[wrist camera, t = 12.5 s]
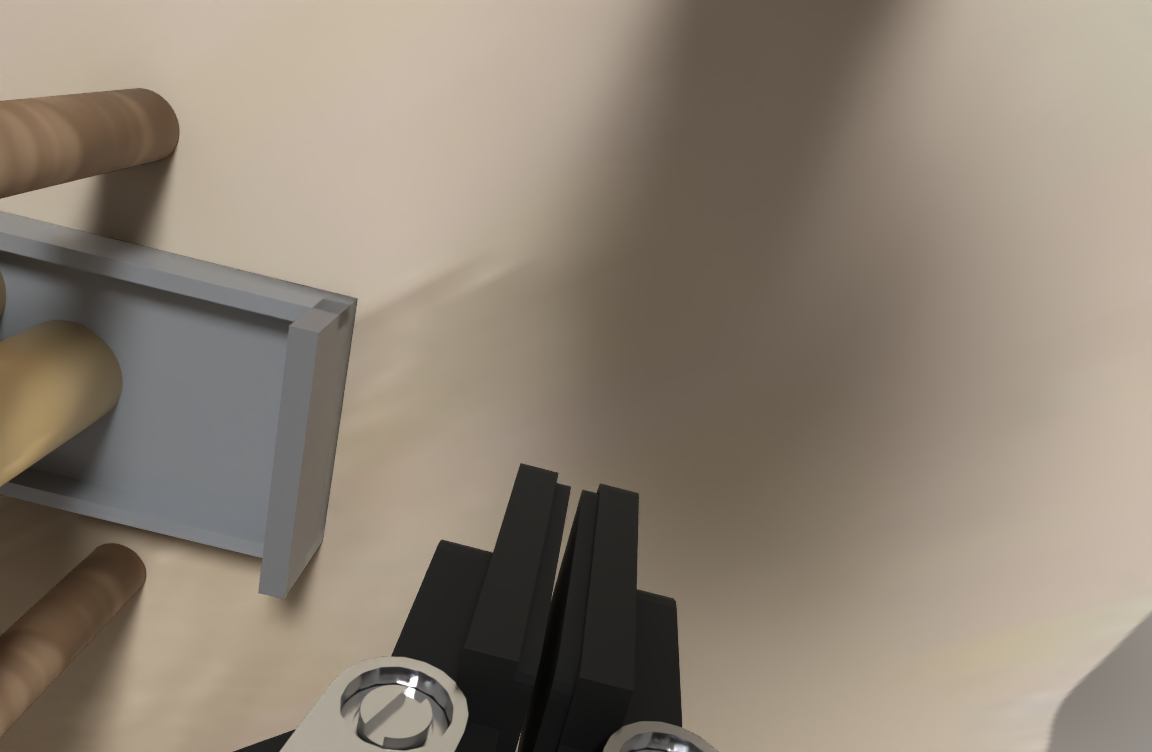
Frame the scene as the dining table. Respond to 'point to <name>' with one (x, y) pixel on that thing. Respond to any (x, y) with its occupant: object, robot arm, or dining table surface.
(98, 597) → the low table
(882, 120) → the dining table surface
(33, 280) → the tray
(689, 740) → the robot arm
